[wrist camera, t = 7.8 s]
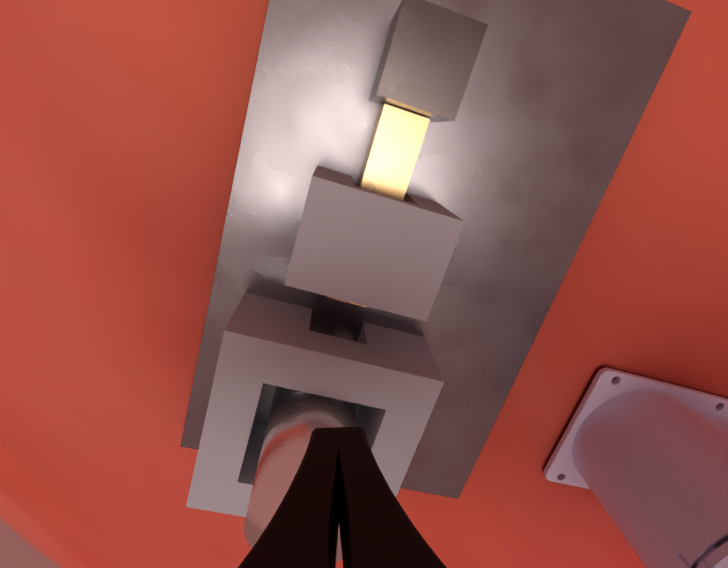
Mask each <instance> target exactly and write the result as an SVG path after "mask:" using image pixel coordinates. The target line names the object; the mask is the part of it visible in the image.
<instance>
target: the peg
mask: <svg viewBox="0 0 728 568" xmlns="http://www.w3.org/2000/svg"><path fill="white" fill-rule="evenodd" d="M330 427H357V421H356V407H355V403H352V402H348V401H343V400H338V399H334V398H329V397H325V396H320V395H315V394H311V393H306V392H302V391H297V390H292V389H288V388H283V387H279V386H276V387H275V391H274V396H273V400H272V405H271V409H270V413H269V418H268V422H267V427H266V431H265V435H264V440H263V444H262V449H261V453H260V457H259V462H258V466H257V471H256V475H255V480H254V484H253V488H252V493H251V497H250V502H249V506H248V510H247V515H246V519H245V525H244V530H245V536H246V539H247V541H248V543H249V545H250V546H251V548H253V546H254V545H255V544H256V542H257V541H258V539H259V538H260V536H261V535H262V533H263V532H264V530H265V529H266V527H267V525H268V524H269V522H270V521H271V519H272V517H273V516H274V514H275V512H276V510H277V509H278V507H279V505H280V503H281V502H282V500H283V498H284V496H285V494H286V493H287V491H288V489H289V487H290V485H291V483H292V481H293V479H294V477H295V475H296V473H297V471H298V468H299V466H300V464H301V462H302V459H303V457H304V455H305V452H306V450H307V447H308V444H309V441H310V438H311V433H312V431H313V430H314V429H315V428H330ZM341 559H342V550H341V540H340V530H339V528H338V541H337V554H336V562H337V561H339V560H341Z"/></svg>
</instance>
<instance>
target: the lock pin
mask: <svg viewBox="0 0 728 568" xmlns="http://www.w3.org/2000/svg"><path fill="white" fill-rule="evenodd" d="M487 27H488V24H486V23H483V22H480V21H478V20H475V19H473V18H470V17H467V16H465V15H462V14H459V13H457V12H454V11H452V10H449V9H446V8H444V7H441V6H439V5H436V4H433V3H431V2H428V1H425V0H402V1H401V3H400V5H399V7H398V9H397V11H396V13H395V15H394V17H393V18H392V21H391V24H390V28H389V31H388V35H387V38H386V42H385V45H384V49H383V52H382V56H381V59H380V63H379V67H378V70H377V74H376V77H375V81H374V84H373V88H372V91H371V95H370V98H369V101H370V102H373V103H376V104H379V105H381V106H380V108H379V111H378V115H377V118H376V122H375V125H374V129H373V132H372V135H371V139H370V142H369V146H368V149H367V153H366V156H365V159H364V163H363V166H362V170H361V173H360V177H359V180H358V183H357V187H360V188H364V189H367V190H370V191H373V192H377V193H380V194H383V195H387V196H390V197H393V198H397V199H400V200H404V197H405V193H406V190H407V187H408V184H409V181H410V178H411V175H412V172H413V169H414V166H415V163H416V160H417V157H418V154H419V151H420V148H421V145H422V142H423V139H424V136H425V133H426V130H427V127H428V124H429V121H430V122H447V121H455V119H456V116H457V113H458V110H459V107H460V104H461V101H462V98H463V96H464V93H465V90H466V87H467V84H468V81H469V78H470V75H471V73H472V70H473V67H474V64H475V61H476V58H477V55H478V52H479V50H480V47H481V44H482V41H483V38H484V35H485V32H486V29H487ZM328 298H332V299H336V298H333V297H329V296H328ZM336 300H340V299H336ZM340 301H344V300H340ZM344 302H348V301H344ZM348 303H351V304H355V305H359V306H363V307H367V308H368V306H364V305H360V304H356V303H352V302H348Z"/></svg>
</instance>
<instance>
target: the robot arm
mask: <svg viewBox="0 0 728 568" xmlns="http://www.w3.org/2000/svg"><path fill="white" fill-rule="evenodd" d="M614 377H616V378H615V379H614V380H612V379H613V378H614ZM543 474H544V476H545V478H546V479H547V480H548V481H552V482H557V483H561V484H566V485H571V486H576V487H581V488H586V489H591V491H592V492H593V494H594V495H595V496H596V498H597V499H598V501H599V502H600V503H601V505H602V506H603V508H604V509H605V510H606V512H607V513H608V515H609V516H610V518H611V519H612V520H613V522H614V523H615V525H616V526H617V527H618V529H619V530H620V532H621V533H622V534H623V536H624V537H625V539H626V540H627V542H628V543H629V544H630V546H631V547H632V549H633V550H634V551H635V553H636V554H637V556H638V557H639V558H640V560H641V561H642V563H643V564H644V566H645V567H646V568H728V398H725V397H721V396H717V395H713V394H709V393H705V392H701V391H697V390H693V389H690V388H686V387H682V386H678V385H674V384H670V383H666V382H662V381H658V380H654V379H651V378H647V377H643V376H639V375H635V374H631V373H627V372H623V371H619V370H615V369H612V368H602V369H601V370H599V371H598V372H597V374H596V376H595V377H594V379H593V381H592V383H591V385H590V387H589V388H588V390H587V392H586V394H585V396H584V397H583V399H582V401H581V403H580V405H579V407H578V408H577V410H576V412H575V414H574V416H573V418H572V419H571V421H570V423H569V425H568V427H567V429H566V430H565V432H564V434H563V436H562V438H561V439H560V441H559V443H558V445H557V447H556V449H555V450H554V452H553V454H552V456H551V458H550V460H549V461H548V463H547V465H546V467H545V469H544V471H543ZM559 474H560V475H559ZM338 528H339V530H340V540H341V550H342V560H343V568H447V567H446V566H445V565H444V564H443V563H442V562H441V560H440V559H439V558H438V557H437V555H436V554H435V553H434V552H433V550H432V549H431V548H430V547H429V545H428V544H427V543H426V541H425V540H424V539H423V537H422V536H421V535H420V533H419V532H418V531H417V529H416V528H415V526H414V525H413V524H412V522H411V521H410V519H409V518H408V516H407V515H406V513H405V512H404V510H403V509H402V507H401V505H400V504H399V502H398V501H397V499H396V497H395V496H394V494H393V492H392V491H391V489H390V487H389V485H388V483H387V481H386V480H385V478H384V476H383V474H382V472H381V470H380V468H379V466H378V464H377V462H376V460H375V458H374V456H373V453H372V451H371V449H370V446H369V444H368V441H367V438H366V435H365V431H364V429H362V428H361V427H330V428H315V429H314V430H313V431H312V433H311V438H310V441H309V444H308V447H307V450H306V452H305V455H304V457H303V459H302V462H301V464H300V466H299V468H298V471H297V473H296V475H295V477H294V479H293V481H292V483H291V485H290V487H289V489H288V491H287V493H286V494H285V496H284V498H283V500H282V502H281V503H280V505H279V507H278V509H277V510H276V512H275V514H274V516H273V517H272V519H271V521H270V522H269V524H268V525H267V527H266V529H265V530H264V532H263V533H262V535H261V536H260V538H259V539H258V541H257V542H256V544H255V545H254V546H253V548H252V549H251V551H250V552H249V554H248V555H247V556H246V558H245V559H244V560H243V562H242V563H241V564H240V566H239V567H238V568H335V566H336V554H337V541H338Z"/></svg>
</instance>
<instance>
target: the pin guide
mask: <svg viewBox="0 0 728 568" xmlns="http://www.w3.org/2000/svg"><path fill="white" fill-rule="evenodd" d="M464 222H465V221H463V220H462V219H460V218H459V217H458V216H456V215H455V214H453V213H452V212H451V211H449V210H448V209H446V208H445V207H444V206H442V205H441V204H439V203H438V202H436V201H433V200H429V199H426V198H423V197H419V196H416V195H413V194H410V193H405V197H404V200H400V199H397V198H393V197H390V196H387V195H383V194H380V193H377V192H373V191H370V190H367V189H364V188H360V187H357V186H355V185H354V183H353V180H352V177H351V175H347V174H344V173H341V172H337V171H334V170H331V169H328V168H324V167H321V166H318V165H317V167H316V169H315V171H314V173H313V175H312V178H311V182H310V186H309V190H308V194H307V198H306V202H305V206H304V210H303V214H302V217H301V221H300V225H299V229H298V233H297V237H296V241H295V245H294V249H293V253H292V256H291V260H290V264H289V268H288V272H287V276H286V280H285V284H284V285H286V286H290V287H294V288H297V289H301V290H305V291H309V292H313V293H317V294H321V295H325V296H329V297H333V298H336V299H340V300H344V301H348V302H352V303H356V304H360V305H364V306H368V307H372V308H375V309H379V310H383V311H387V312H391V313H395V314H399V315H403V316H407V317H411V318H414V319H418V320H422V321H426V322H427V319H428V316H429V314H430V311H431V308H432V306H433V303H434V301H435V298H436V295H437V293H438V290H439V288H440V285H441V282H442V280H443V277H444V274H445V272H446V269H447V267H448V264H449V261H450V259H451V256H452V254H453V251H454V248H455V246H456V243H457V241H458V238H459V235H460V233H461V230H462V227H463V225H464Z"/></svg>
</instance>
